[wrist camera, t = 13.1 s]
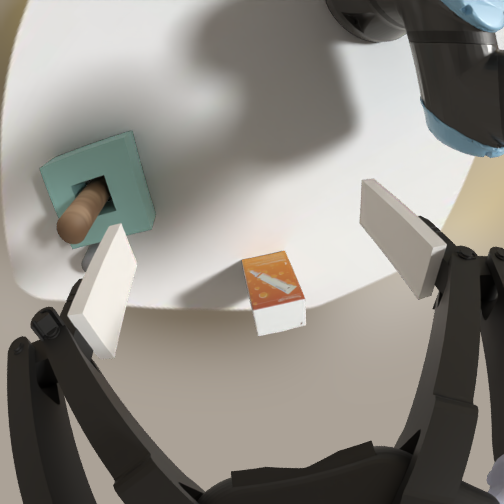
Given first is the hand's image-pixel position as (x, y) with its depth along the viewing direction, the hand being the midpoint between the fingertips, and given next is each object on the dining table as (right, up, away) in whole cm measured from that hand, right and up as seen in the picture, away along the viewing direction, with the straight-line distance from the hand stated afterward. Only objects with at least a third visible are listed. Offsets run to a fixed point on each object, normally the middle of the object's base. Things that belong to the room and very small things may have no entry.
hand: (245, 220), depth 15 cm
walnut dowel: (-23, +9, +25) cm, 35 cm away
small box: (+3, -4, +40) cm, 40 cm away
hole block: (-23, +9, +25) cm, 35 cm away
